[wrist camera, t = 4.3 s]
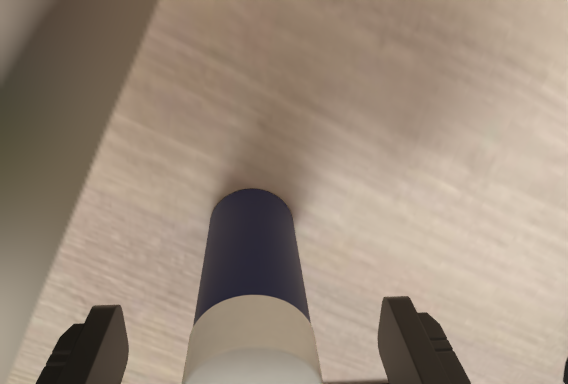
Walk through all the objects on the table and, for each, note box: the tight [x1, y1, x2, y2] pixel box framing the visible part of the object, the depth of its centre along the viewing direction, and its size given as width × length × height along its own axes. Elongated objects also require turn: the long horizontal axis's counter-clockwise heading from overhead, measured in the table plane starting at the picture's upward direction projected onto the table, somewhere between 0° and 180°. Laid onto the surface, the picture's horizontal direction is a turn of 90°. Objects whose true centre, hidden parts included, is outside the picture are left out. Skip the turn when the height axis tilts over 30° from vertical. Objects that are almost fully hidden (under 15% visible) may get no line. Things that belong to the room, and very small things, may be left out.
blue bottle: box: [182, 189, 323, 384], centre depth 16 cm, size 4×4×9 cm
